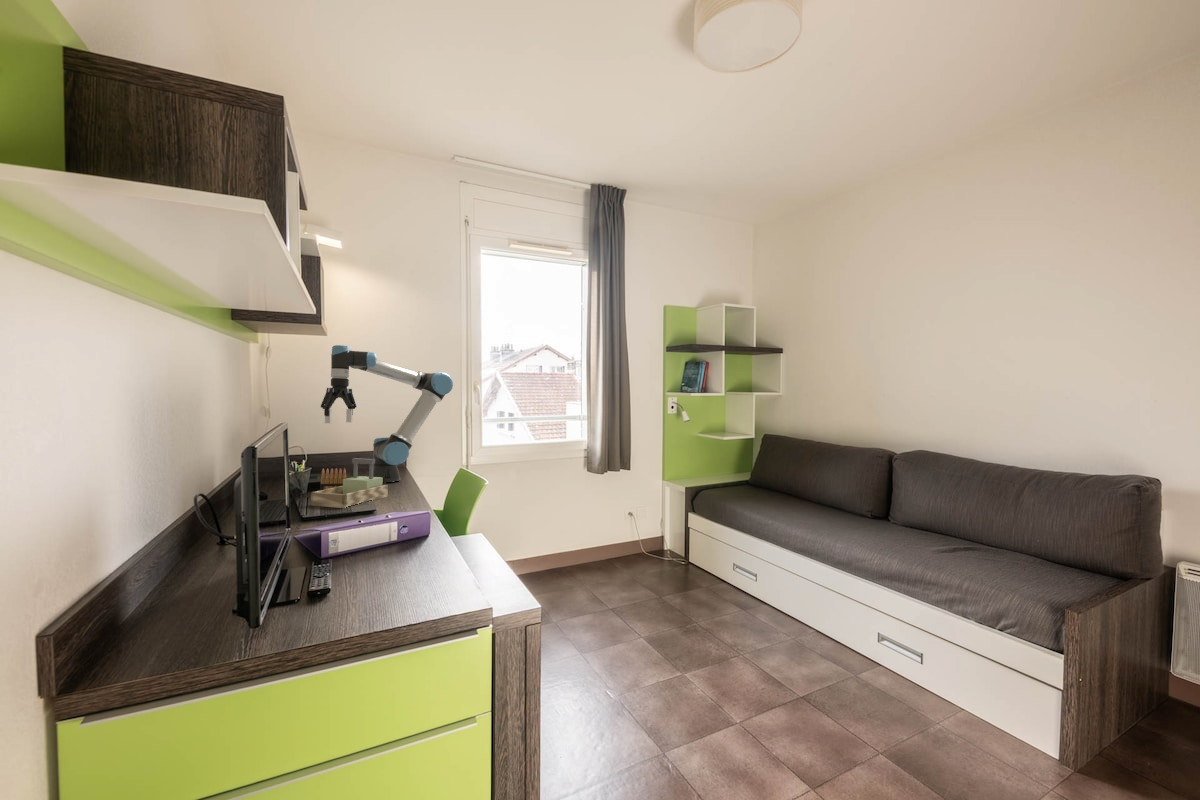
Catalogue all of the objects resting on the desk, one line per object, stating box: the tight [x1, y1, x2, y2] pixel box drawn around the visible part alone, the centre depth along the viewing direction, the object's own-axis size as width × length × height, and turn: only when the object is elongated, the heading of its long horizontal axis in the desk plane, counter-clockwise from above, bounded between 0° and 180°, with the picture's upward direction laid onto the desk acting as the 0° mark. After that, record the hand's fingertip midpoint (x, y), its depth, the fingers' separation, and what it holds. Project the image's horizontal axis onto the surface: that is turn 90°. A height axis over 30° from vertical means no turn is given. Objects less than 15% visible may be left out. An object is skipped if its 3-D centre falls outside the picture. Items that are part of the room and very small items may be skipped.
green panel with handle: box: [343, 457, 384, 494], centre depth 215 cm, size 10×12×16 cm
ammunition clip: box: [319, 467, 347, 491], centre depth 221 cm, size 11×2×12 cm, turn 103°
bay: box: [310, 484, 389, 509], centre depth 208 cm, size 26×16×5 cm, turn 166°
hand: (338, 422), depth 234 cm, fingers open, 13 cm apart
